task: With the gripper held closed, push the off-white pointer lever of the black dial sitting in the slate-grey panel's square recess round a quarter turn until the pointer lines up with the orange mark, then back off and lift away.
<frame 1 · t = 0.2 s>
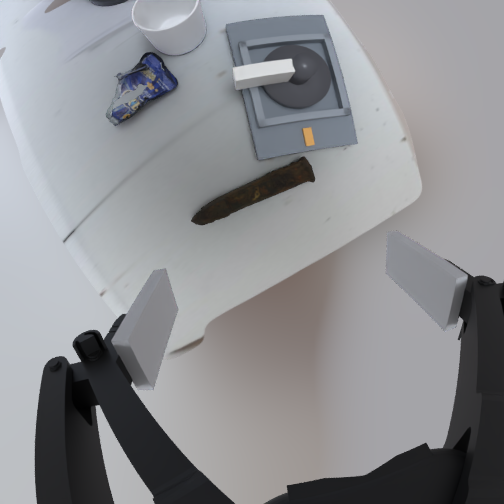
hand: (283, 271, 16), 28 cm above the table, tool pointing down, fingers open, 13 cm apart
dark brown lumpy bar: (251, 194, 42), on the table
dial: (285, 72, 30), point 6 cm above the table, hinge at 0.0°
mug: (172, 29, 31), on the table
snack package: (141, 89, 35), on the table
panel: (290, 82, 35), on the table
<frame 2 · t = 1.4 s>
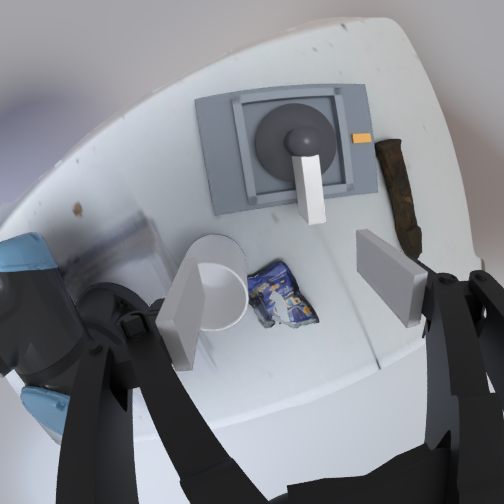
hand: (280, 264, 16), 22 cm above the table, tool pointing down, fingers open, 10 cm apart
dark brown lumpy bar: (397, 198, 38), on the table
dial: (302, 158, 29), point 6 cm above the table, hinge at 0.0°
mug: (207, 268, 40), on the table
snack package: (274, 294, 42), on the table
panel: (290, 143, 34), on the table
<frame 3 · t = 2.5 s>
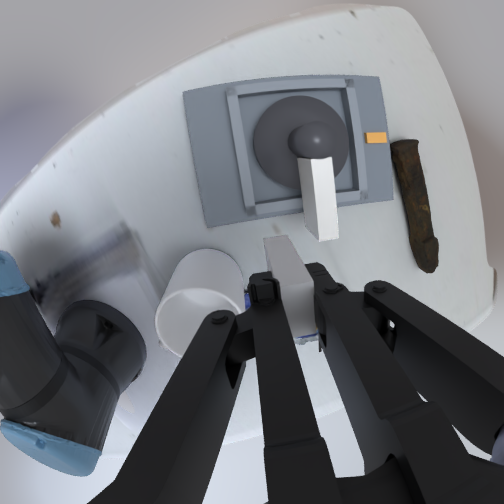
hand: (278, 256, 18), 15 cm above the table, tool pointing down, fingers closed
dark brown lumpy bar: (412, 206, 33), on the table
dial: (310, 160, 24), point 6 cm above the table, hinge at 0.0°
mug: (199, 286, 35), on the table
panel: (294, 143, 29), on the table
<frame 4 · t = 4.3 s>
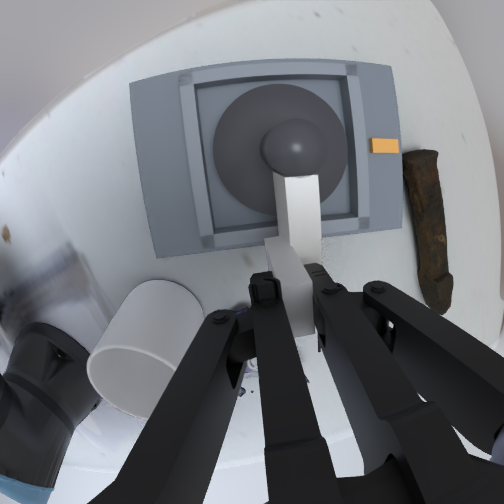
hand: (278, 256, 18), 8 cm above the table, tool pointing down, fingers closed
dark brown lumpy bar: (424, 233, 26), on the table
dial: (290, 176, 17), point 6 cm above the table, hinge at 0.2°, touching gripper
mug: (155, 320, 28), on the table
panel: (274, 149, 22), on the table
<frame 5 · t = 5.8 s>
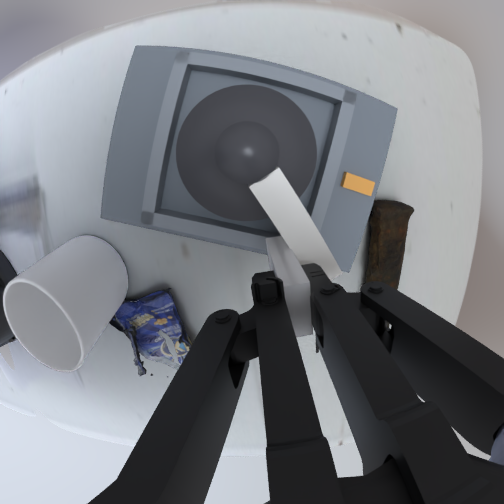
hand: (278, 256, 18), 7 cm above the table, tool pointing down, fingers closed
dark brown lumpy bar: (375, 285, 27), on the table
dial: (263, 176, 17), point 6 cm above the table, hinge at 47.5°, touching gripper
mug: (85, 275, 26), on the table
snack package: (163, 330, 29), on the table
panel: (246, 151, 22), on the table
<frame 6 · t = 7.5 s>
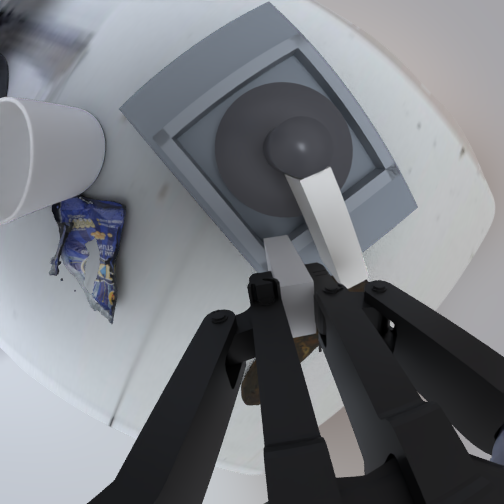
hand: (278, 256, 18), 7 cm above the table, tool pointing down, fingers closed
dark brown lumpy bar: (296, 333, 29), on the table
dial: (303, 174, 17), point 6 cm above the table, hinge at 77.7°
mug: (60, 149, 21), on the table
snack package: (94, 246, 25), on the table
panel: (277, 149, 22), on the table
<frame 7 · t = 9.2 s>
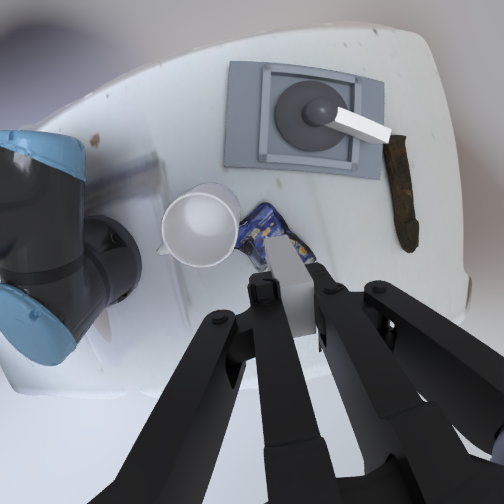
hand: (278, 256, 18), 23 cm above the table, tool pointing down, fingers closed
dark brown lumpy bar: (398, 193, 40), on the table
dial: (330, 118, 30), point 6 cm above the table, hinge at 77.8°
mug: (201, 217, 41), on the table
snack package: (268, 241, 42), on the table
panel: (306, 119, 36), on the table
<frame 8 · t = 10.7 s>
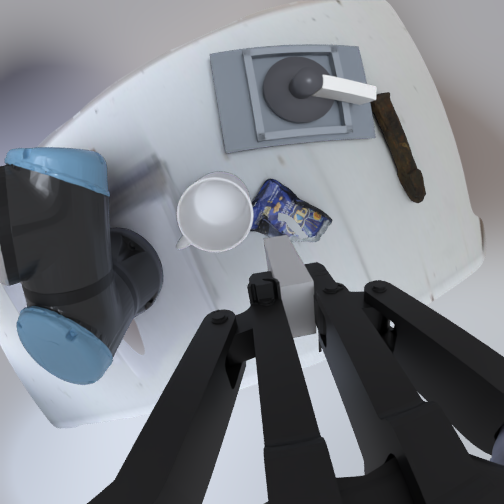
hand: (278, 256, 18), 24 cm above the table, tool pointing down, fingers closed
dark brown lumpy bar: (395, 148, 39), on the table
dial: (317, 87, 30), point 6 cm above the table, hinge at 77.8°
mug: (212, 207, 41), on the table
snack package: (281, 216, 42), on the table
panel: (293, 94, 35), on the table
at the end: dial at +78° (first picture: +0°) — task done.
